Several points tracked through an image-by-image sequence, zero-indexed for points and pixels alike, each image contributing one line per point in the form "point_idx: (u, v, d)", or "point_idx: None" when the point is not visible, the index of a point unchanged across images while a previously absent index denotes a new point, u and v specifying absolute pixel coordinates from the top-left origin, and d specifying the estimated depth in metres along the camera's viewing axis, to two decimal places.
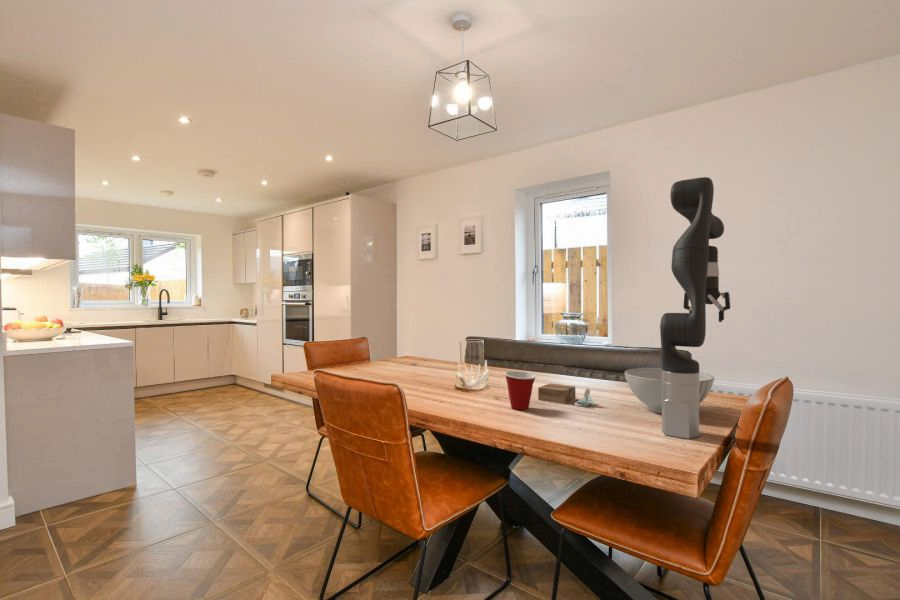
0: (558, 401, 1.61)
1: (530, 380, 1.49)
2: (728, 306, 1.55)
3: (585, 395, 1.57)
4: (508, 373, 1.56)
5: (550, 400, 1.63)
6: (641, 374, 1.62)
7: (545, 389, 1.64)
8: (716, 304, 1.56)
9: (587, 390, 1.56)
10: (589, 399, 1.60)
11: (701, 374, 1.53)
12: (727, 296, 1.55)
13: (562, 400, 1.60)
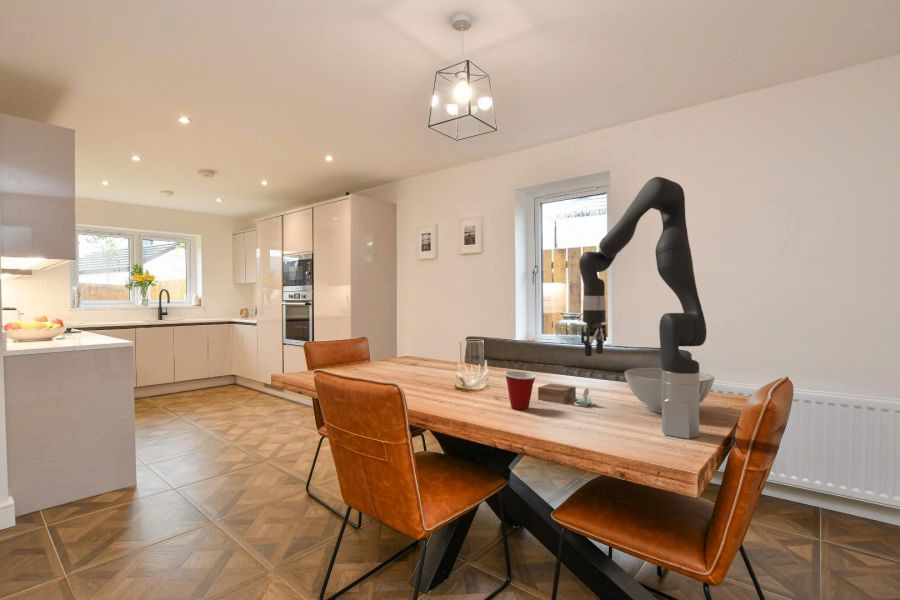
0: (557, 401, 1.61)
1: (530, 380, 1.49)
2: None
3: (584, 395, 1.57)
4: (508, 373, 1.56)
5: (550, 400, 1.63)
6: (641, 374, 1.62)
7: (545, 389, 1.64)
8: (602, 337, 1.60)
9: (586, 390, 1.57)
10: (588, 399, 1.60)
11: (701, 374, 1.53)
12: (605, 328, 1.62)
13: (561, 400, 1.60)
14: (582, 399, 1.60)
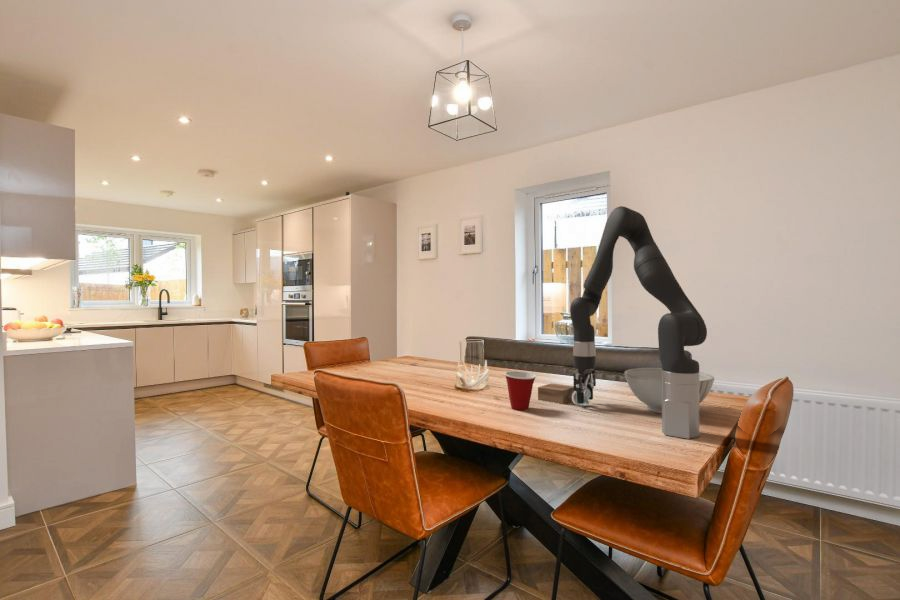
0: (557, 401, 1.61)
1: (530, 380, 1.49)
2: (595, 383, 1.62)
3: (584, 396, 1.55)
4: (508, 373, 1.56)
5: (549, 399, 1.63)
6: (641, 374, 1.62)
7: (544, 389, 1.64)
8: (592, 382, 1.59)
9: (587, 393, 1.53)
10: None
11: (701, 374, 1.53)
12: (595, 373, 1.62)
13: (561, 400, 1.60)
14: None
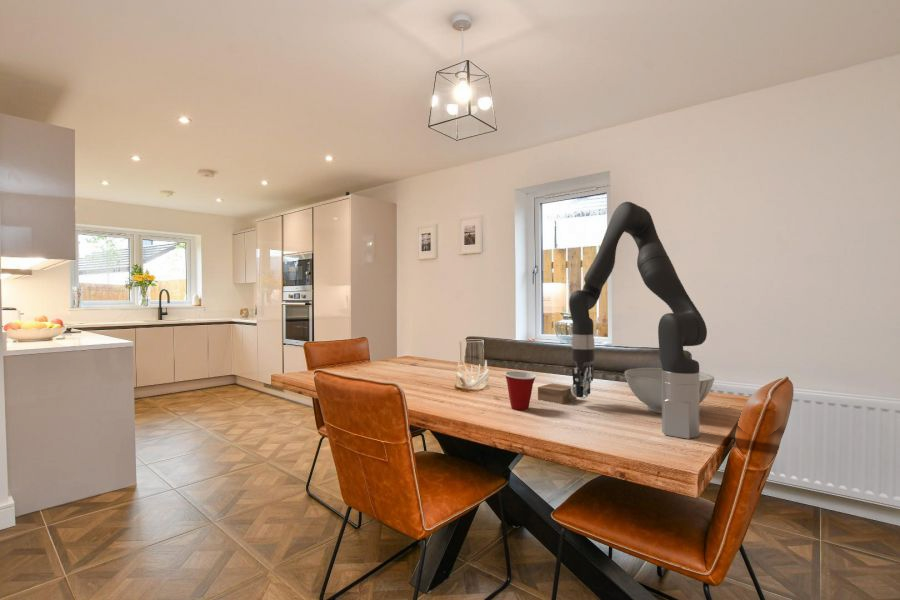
0: (556, 401, 1.61)
1: (530, 380, 1.49)
2: (592, 378, 1.62)
3: (584, 390, 1.55)
4: (508, 373, 1.56)
5: (549, 399, 1.63)
6: (641, 374, 1.62)
7: (544, 389, 1.64)
8: (590, 376, 1.59)
9: (586, 387, 1.54)
10: (585, 381, 1.59)
11: (701, 374, 1.53)
12: (593, 368, 1.62)
13: (560, 400, 1.60)
14: None
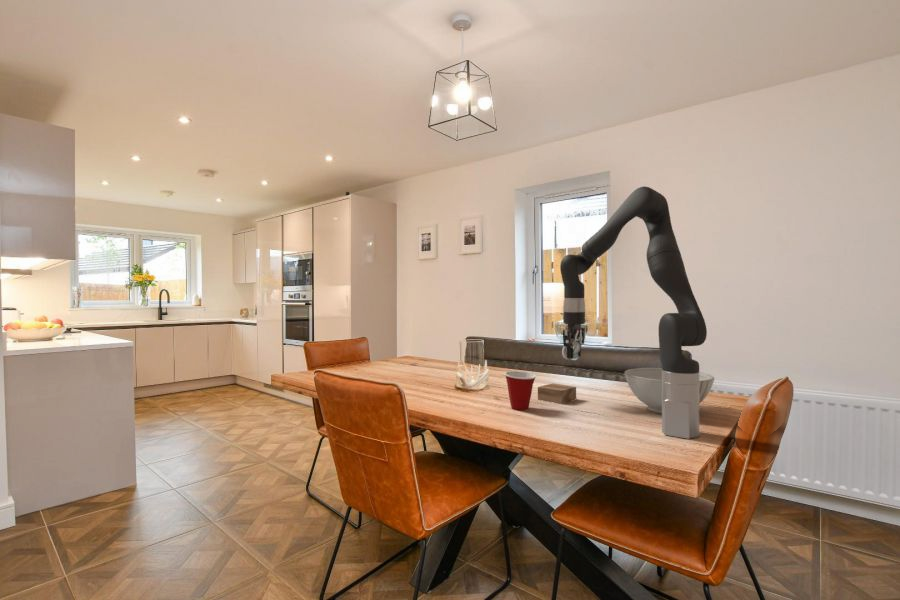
0: (556, 401, 1.61)
1: (530, 380, 1.49)
2: (583, 341, 1.66)
3: (574, 351, 1.59)
4: (508, 373, 1.56)
5: (548, 399, 1.63)
6: (641, 374, 1.62)
7: (544, 389, 1.65)
8: (581, 339, 1.63)
9: (577, 349, 1.58)
10: (576, 344, 1.63)
11: (701, 374, 1.53)
12: (584, 332, 1.66)
13: (560, 400, 1.60)
14: None
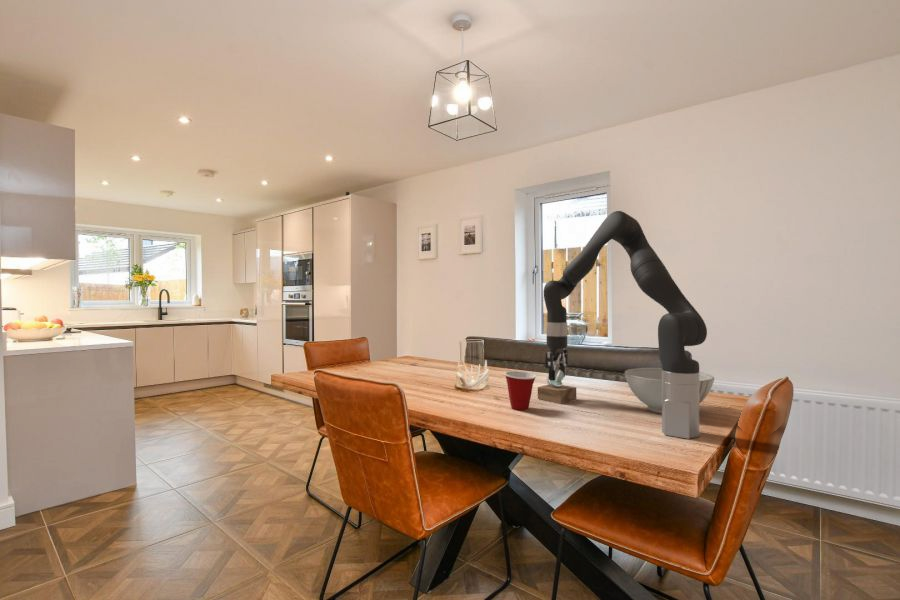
0: (555, 401, 1.61)
1: (530, 380, 1.49)
2: (567, 362, 1.71)
3: (558, 378, 1.65)
4: (508, 373, 1.56)
5: (548, 400, 1.63)
6: (641, 374, 1.62)
7: (544, 389, 1.65)
8: (564, 361, 1.68)
9: (560, 375, 1.64)
10: None
11: (701, 374, 1.53)
12: (567, 353, 1.71)
13: (559, 400, 1.60)
14: None
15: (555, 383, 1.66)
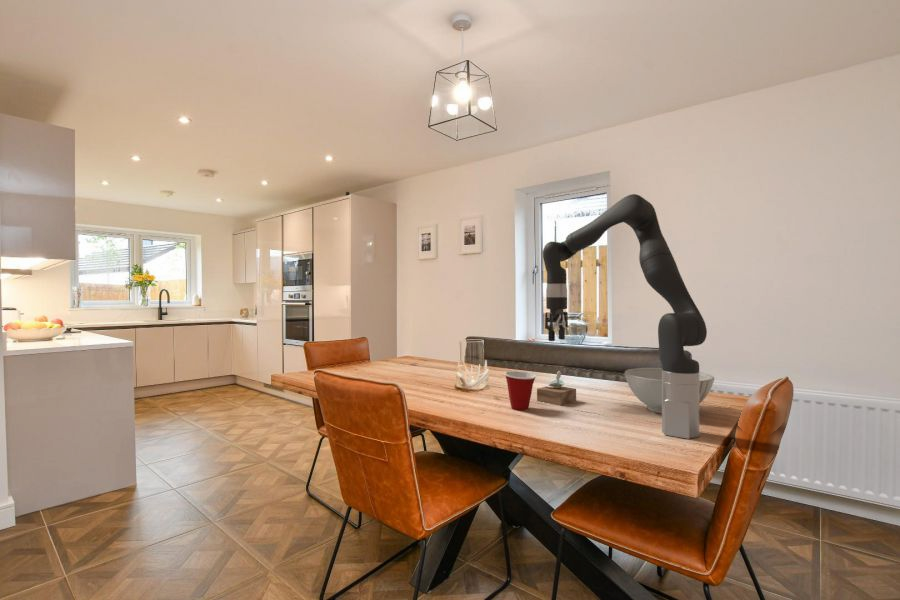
0: (555, 403, 1.58)
1: (530, 380, 1.49)
2: (567, 324, 1.71)
3: (557, 377, 1.65)
4: (508, 373, 1.56)
5: (548, 401, 1.61)
6: (641, 374, 1.62)
7: (543, 390, 1.62)
8: (564, 323, 1.68)
9: (559, 373, 1.65)
10: (559, 381, 1.68)
11: (701, 374, 1.53)
12: (567, 315, 1.71)
13: (559, 402, 1.57)
14: (554, 382, 1.69)
15: None
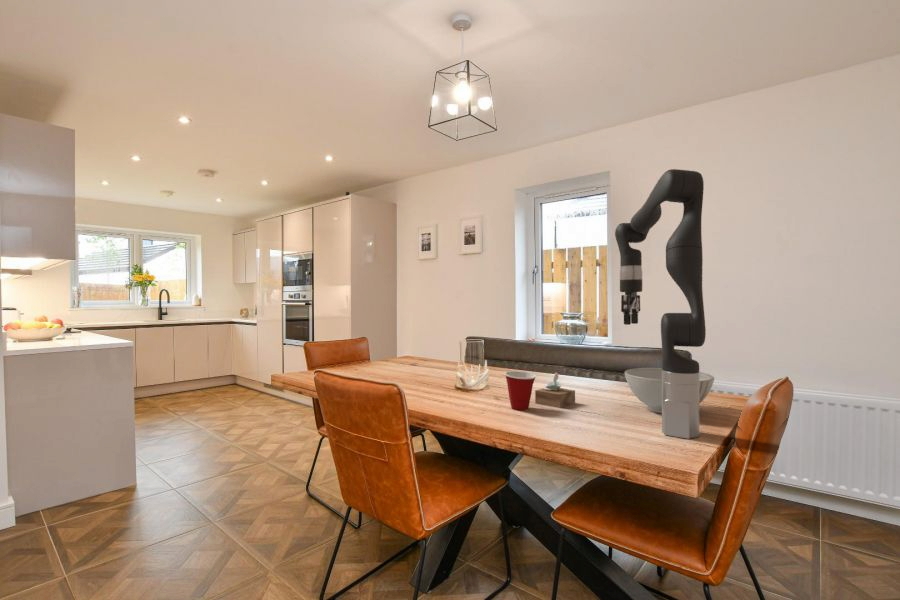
0: (554, 405, 1.55)
1: (530, 380, 1.49)
2: (639, 308, 1.66)
3: (554, 379, 1.61)
4: (508, 373, 1.56)
5: (546, 403, 1.57)
6: (641, 374, 1.62)
7: (542, 392, 1.59)
8: (638, 306, 1.63)
9: (556, 374, 1.61)
10: (556, 383, 1.64)
11: (701, 374, 1.53)
12: (639, 299, 1.66)
13: (558, 404, 1.54)
14: (550, 384, 1.64)
15: None
